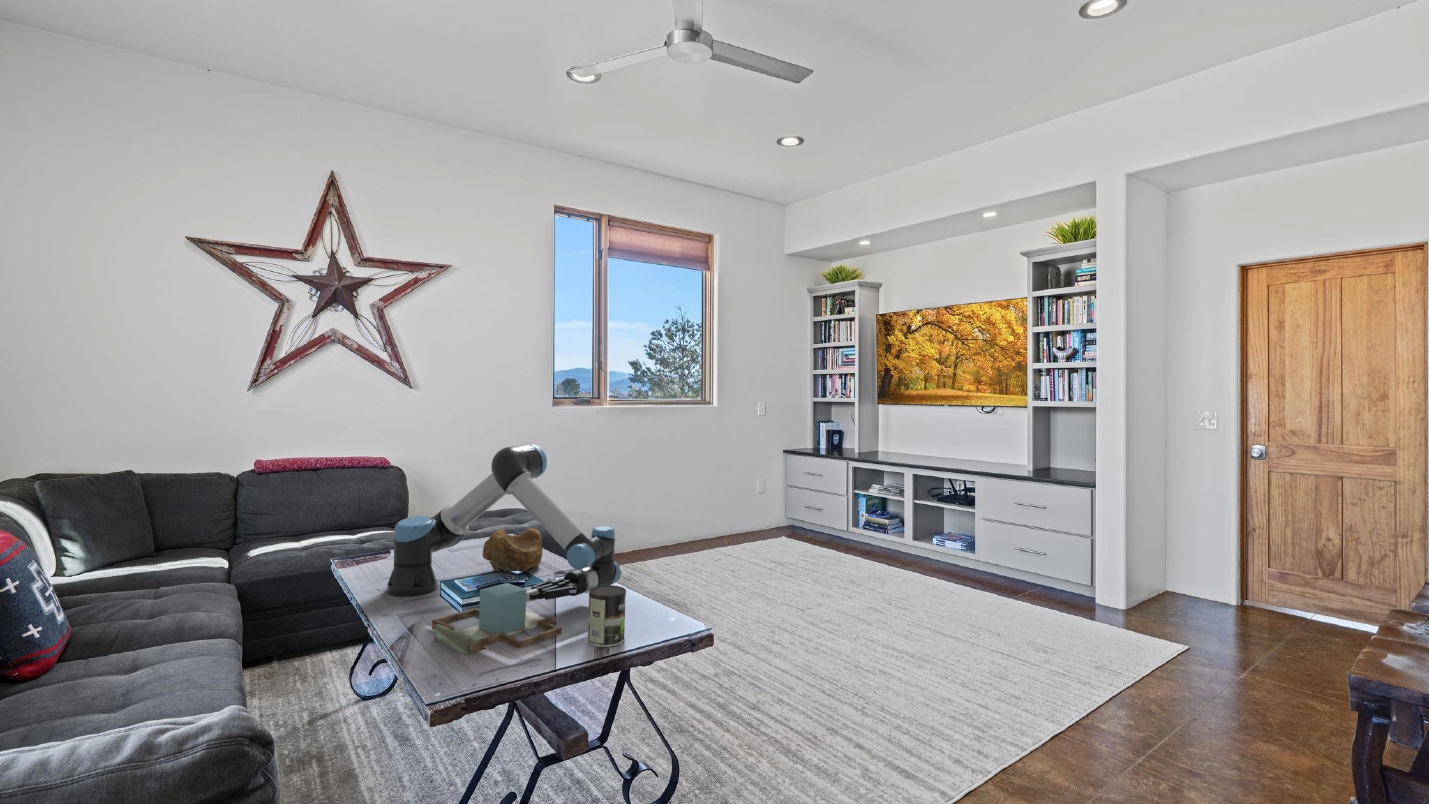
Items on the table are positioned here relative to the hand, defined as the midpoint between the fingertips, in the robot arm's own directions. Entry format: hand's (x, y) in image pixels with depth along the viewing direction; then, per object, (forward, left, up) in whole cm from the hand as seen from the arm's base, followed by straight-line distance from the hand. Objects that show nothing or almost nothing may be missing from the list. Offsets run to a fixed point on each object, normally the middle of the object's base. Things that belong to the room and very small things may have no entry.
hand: (518, 599), depth 196 cm
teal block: (-3, -4, -7) cm, 9 cm away
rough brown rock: (-24, +56, -9) cm, 61 cm away
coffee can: (+27, -4, -9) cm, 29 cm away
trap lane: (-4, -4, -8) cm, 10 cm away
